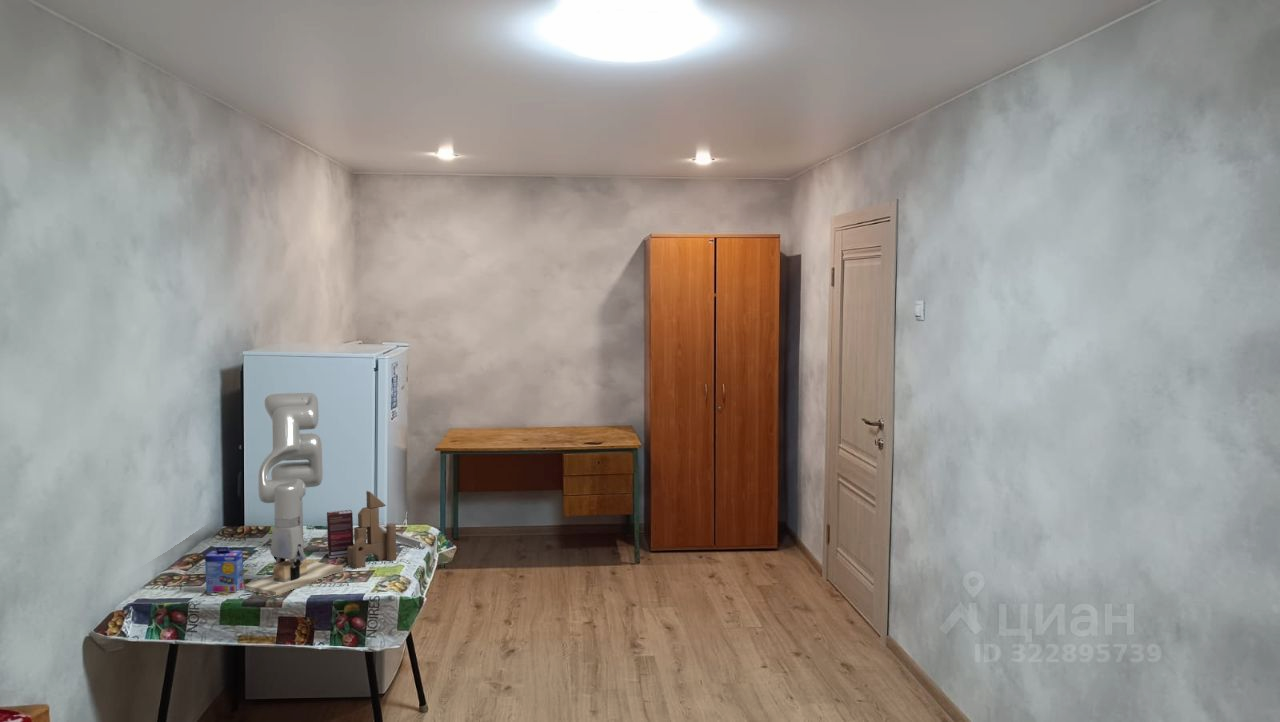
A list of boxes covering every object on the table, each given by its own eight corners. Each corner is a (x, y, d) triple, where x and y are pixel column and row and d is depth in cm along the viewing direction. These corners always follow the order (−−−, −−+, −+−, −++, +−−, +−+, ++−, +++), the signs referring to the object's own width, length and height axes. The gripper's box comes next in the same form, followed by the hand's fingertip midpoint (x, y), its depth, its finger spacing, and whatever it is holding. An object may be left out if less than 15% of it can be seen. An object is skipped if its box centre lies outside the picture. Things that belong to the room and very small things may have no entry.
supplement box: (352, 552, 315) (351, 509, 314) (353, 556, 310) (353, 512, 309) (327, 555, 311) (326, 511, 310) (328, 558, 307) (327, 514, 306)
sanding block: (273, 580, 279) (273, 564, 279) (295, 572, 287) (295, 557, 287) (284, 582, 277) (284, 567, 276) (306, 574, 285) (306, 559, 284)
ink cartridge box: (205, 593, 270) (203, 548, 269) (212, 588, 276) (210, 543, 275) (237, 593, 271) (236, 547, 270) (244, 587, 277) (243, 542, 276)
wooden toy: (355, 569, 295) (354, 497, 294) (347, 564, 300) (346, 493, 299) (397, 560, 306) (396, 490, 304) (389, 556, 311) (388, 487, 309)
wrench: (421, 557, 319) (362, 537, 333) (425, 556, 321) (366, 536, 335) (423, 536, 318) (364, 517, 332) (426, 535, 320) (367, 516, 334)
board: (244, 589, 274) (244, 585, 274) (312, 565, 299) (312, 561, 299) (276, 596, 268) (275, 591, 268) (343, 571, 293) (343, 566, 293)
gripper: (259, 521, 280) (260, 576, 282) (297, 528, 273) (298, 584, 274) (278, 516, 287) (279, 570, 288) (315, 522, 280) (317, 577, 281)
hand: (288, 576), depth 281 cm, fingers closed on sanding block, 5 cm apart
